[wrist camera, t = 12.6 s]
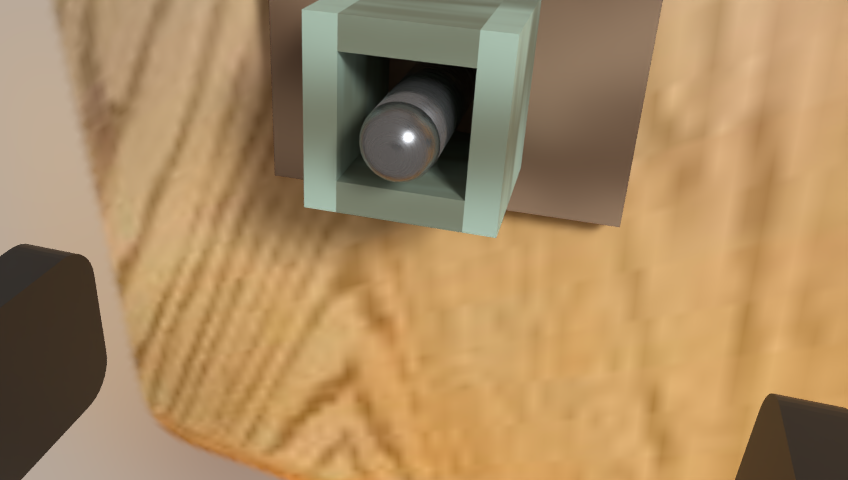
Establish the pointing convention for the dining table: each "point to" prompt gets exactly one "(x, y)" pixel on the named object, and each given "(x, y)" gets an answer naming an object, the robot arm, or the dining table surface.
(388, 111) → the metal post
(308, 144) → the pale green open box
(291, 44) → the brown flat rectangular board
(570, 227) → the dining table surface
